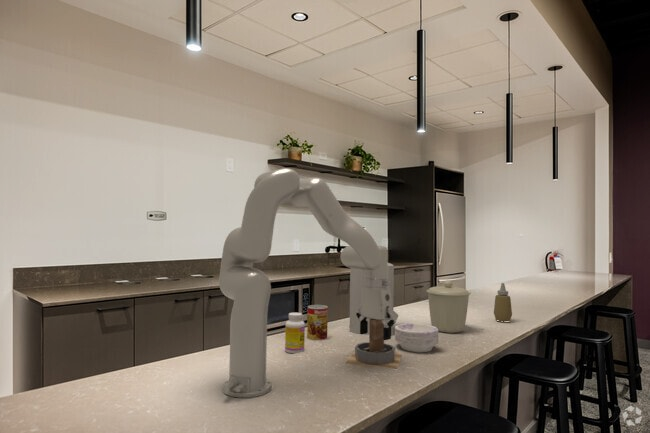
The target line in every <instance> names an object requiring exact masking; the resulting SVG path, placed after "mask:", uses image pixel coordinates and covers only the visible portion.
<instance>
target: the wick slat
mask: <svg viewBox="0 0 650 433" xmlns="http://www.w3.org/2000/svg"><path fill="white" fill-rule="evenodd" d="M383 328H384V324H383V322H382V321H380V320H375V319H370V326H369V335H368V336H369V339H368V341H369V352H375V351H378V350H382V349H384V343H385V340H384V339H383Z"/></svg>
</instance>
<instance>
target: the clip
mask: <svg viewBox="0 0 650 433" xmlns="http://www.w3.org/2000/svg"><path fill="white" fill-rule="evenodd" d="M363 351H367V352H369V347H368V348H365V349H363ZM375 352H376V353H379V352H387V349H382V350H378V351H375Z"/></svg>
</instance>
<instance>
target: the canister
mask: <svg viewBox="0 0 650 433" xmlns="http://www.w3.org/2000/svg"><path fill="white" fill-rule="evenodd" d="M425 292H426V293H427V296H428V297H427V298H428V308H429V317H430V323H431V326H434V327H436V328H438V331H439V332H441V333H447V334H453V333H454V334H456V333H461V332H462V331H464V329H465V327H466V321H467V313H468V308H469V307H468V305H469V297H470V295H471V292H470V291H468V290H467V289H465V288H462V287H459V286H453V281H451V280H445V281H444V282H443V286H442V285H441V286H440V285H439V286H437V285H436V286H432V287H430V288H428V289H426V291H425Z"/></svg>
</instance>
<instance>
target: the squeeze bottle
mask: <svg viewBox="0 0 650 433" xmlns="http://www.w3.org/2000/svg"><path fill="white" fill-rule="evenodd" d="M500 284H501V285H500V288H499V290H497V295H495V296H494V297H495V298H494V308H493V315H494V318H495V321H496V320H499V321H510V322H511V319H512V316H513V310H512V302H511V300H512V299H511V296H510V295H509V290H506V286H505V282H501V283H500Z"/></svg>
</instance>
